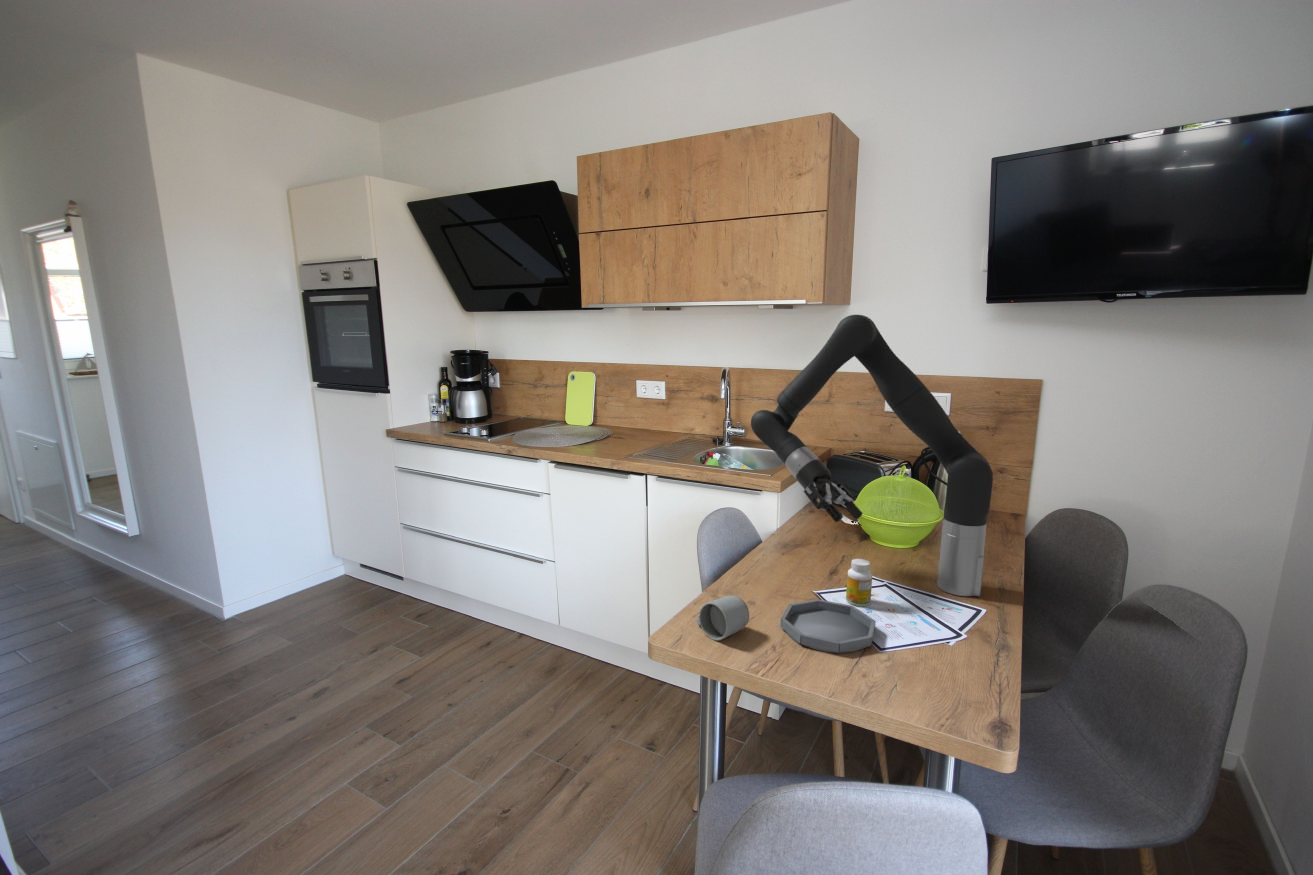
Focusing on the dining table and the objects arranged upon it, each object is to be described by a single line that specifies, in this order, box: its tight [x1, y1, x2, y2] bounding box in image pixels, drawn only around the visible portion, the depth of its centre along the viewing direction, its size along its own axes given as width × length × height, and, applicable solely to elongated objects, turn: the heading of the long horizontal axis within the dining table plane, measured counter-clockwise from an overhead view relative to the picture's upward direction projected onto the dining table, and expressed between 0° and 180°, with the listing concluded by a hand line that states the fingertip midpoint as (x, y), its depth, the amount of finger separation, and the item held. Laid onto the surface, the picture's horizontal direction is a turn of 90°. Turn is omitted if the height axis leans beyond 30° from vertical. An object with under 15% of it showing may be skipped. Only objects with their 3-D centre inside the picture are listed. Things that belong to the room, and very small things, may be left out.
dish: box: [780, 598, 877, 654], centre depth 125 cm, size 18×18×2 cm
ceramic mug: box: [696, 595, 750, 642], centre depth 125 cm, size 11×8×8 cm
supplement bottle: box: [845, 558, 873, 607], centre depth 138 cm, size 5×5×10 cm
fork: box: [841, 513, 859, 525], centre depth 193 cm, size 3×20×2 cm, turn 42°
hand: (850, 518), depth 142 cm, fingers open, 8 cm apart
